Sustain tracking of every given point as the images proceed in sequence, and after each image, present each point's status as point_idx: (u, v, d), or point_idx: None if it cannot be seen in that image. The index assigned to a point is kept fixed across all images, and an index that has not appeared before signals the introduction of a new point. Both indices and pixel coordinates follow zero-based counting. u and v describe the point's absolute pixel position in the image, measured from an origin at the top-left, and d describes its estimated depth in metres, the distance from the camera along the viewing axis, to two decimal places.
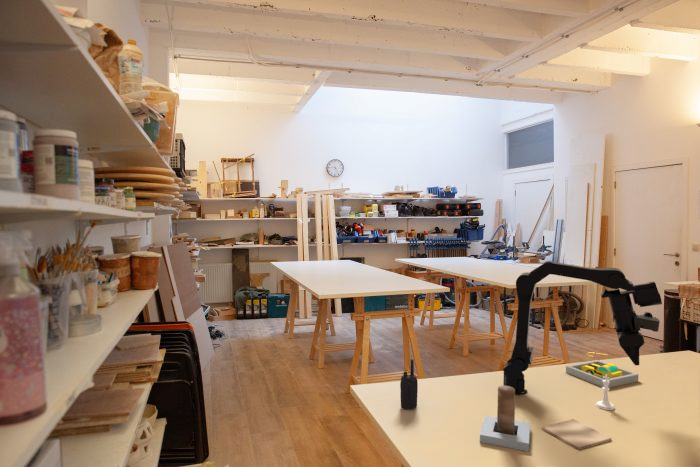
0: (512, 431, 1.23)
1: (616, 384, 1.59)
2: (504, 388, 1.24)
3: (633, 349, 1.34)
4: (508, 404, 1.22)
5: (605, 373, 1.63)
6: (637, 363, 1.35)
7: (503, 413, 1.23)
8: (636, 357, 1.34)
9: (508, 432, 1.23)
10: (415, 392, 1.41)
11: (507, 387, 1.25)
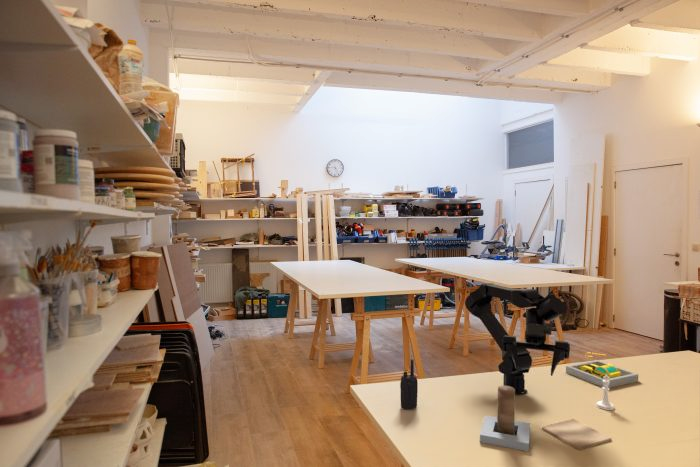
0: (512, 431, 1.23)
1: (616, 384, 1.59)
2: (504, 388, 1.24)
3: None
4: (508, 404, 1.22)
5: (603, 373, 1.63)
6: (516, 368, 1.37)
7: (503, 413, 1.23)
8: (515, 361, 1.38)
9: (508, 432, 1.23)
10: (415, 392, 1.41)
11: (507, 387, 1.25)
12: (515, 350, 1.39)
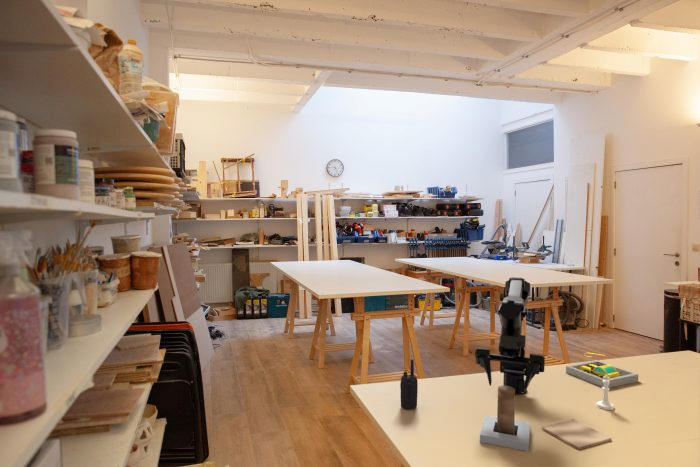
0: (512, 431, 1.23)
1: (616, 384, 1.59)
2: (504, 388, 1.24)
3: None
4: (508, 404, 1.22)
5: (601, 374, 1.63)
6: (489, 382, 1.30)
7: (503, 413, 1.23)
8: (488, 375, 1.32)
9: (508, 432, 1.23)
10: (415, 392, 1.41)
11: (507, 387, 1.25)
12: (488, 363, 1.32)
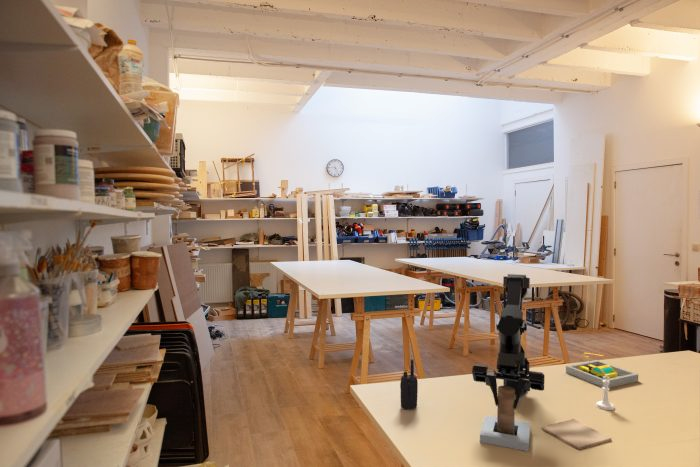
0: (512, 431, 1.23)
1: (616, 384, 1.59)
2: (504, 388, 1.24)
3: None
4: (508, 404, 1.22)
5: (599, 374, 1.62)
6: (495, 402, 1.24)
7: (503, 413, 1.23)
8: (494, 395, 1.26)
9: (508, 432, 1.23)
10: (415, 392, 1.41)
11: (507, 387, 1.25)
12: (494, 382, 1.26)
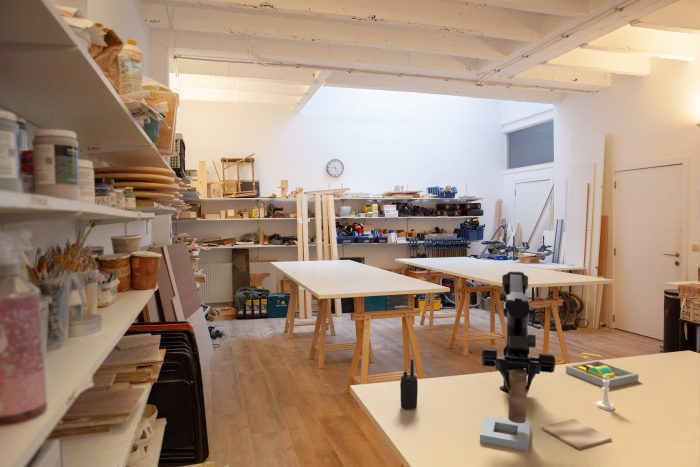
0: (524, 414, 1.22)
1: (616, 384, 1.59)
2: (516, 371, 1.23)
3: None
4: (521, 387, 1.21)
5: (596, 374, 1.62)
6: (507, 386, 1.23)
7: (515, 396, 1.22)
8: (505, 378, 1.25)
9: (521, 415, 1.22)
10: (415, 392, 1.41)
11: (518, 370, 1.24)
12: (505, 366, 1.25)
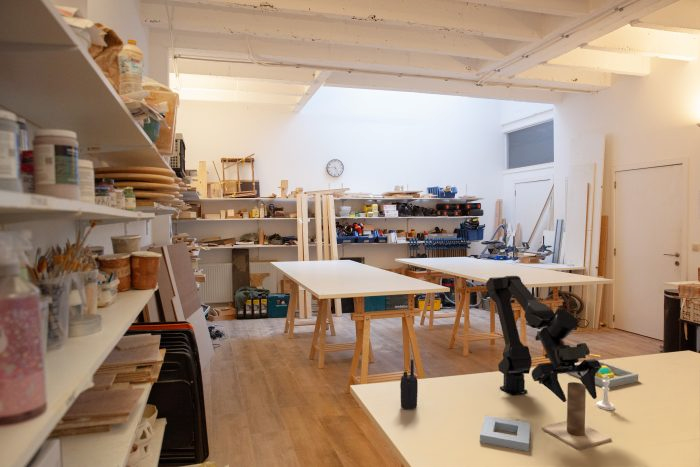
0: (584, 425, 1.25)
1: (616, 384, 1.59)
2: (575, 385, 1.25)
3: (553, 383, 1.26)
4: (584, 399, 1.23)
5: None
6: (563, 399, 1.23)
7: (580, 410, 1.23)
8: (558, 391, 1.24)
9: (584, 428, 1.24)
10: (415, 392, 1.41)
11: (574, 384, 1.26)
12: (556, 379, 1.25)
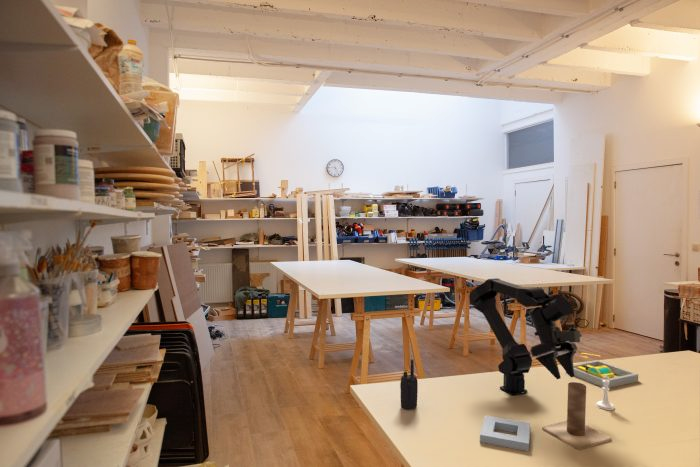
0: (584, 425, 1.25)
1: (616, 384, 1.59)
2: (575, 385, 1.25)
3: (550, 361, 1.34)
4: (584, 399, 1.23)
5: (595, 374, 1.62)
6: (558, 376, 1.32)
7: (580, 410, 1.23)
8: (554, 369, 1.33)
9: (584, 428, 1.24)
10: (415, 392, 1.41)
11: (575, 384, 1.26)
12: (555, 357, 1.33)
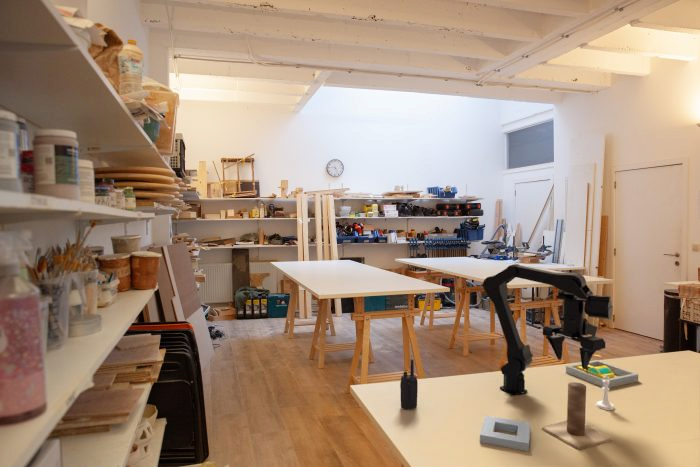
0: (584, 425, 1.25)
1: (616, 384, 1.59)
2: (575, 385, 1.25)
3: (588, 353, 1.38)
4: (584, 399, 1.23)
5: (595, 374, 1.62)
6: (585, 367, 1.39)
7: (580, 410, 1.23)
8: (587, 361, 1.38)
9: (584, 428, 1.24)
10: (415, 392, 1.41)
11: (575, 384, 1.26)
12: None
